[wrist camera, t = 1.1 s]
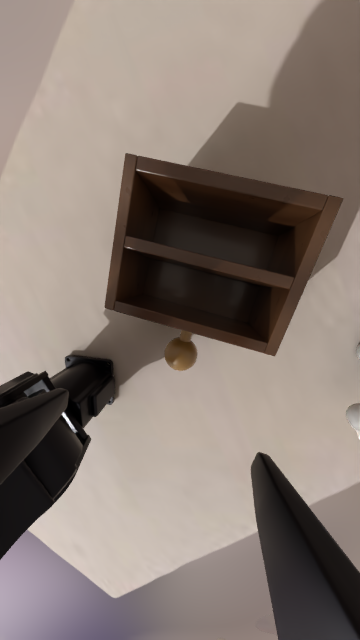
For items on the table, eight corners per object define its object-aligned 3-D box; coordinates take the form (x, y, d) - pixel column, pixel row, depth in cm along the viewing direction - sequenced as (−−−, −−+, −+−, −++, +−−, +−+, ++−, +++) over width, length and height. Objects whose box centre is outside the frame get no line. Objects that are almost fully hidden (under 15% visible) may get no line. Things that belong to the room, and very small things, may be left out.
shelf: (236, 365, 20) (252, 408, 13) (130, 334, 21) (96, 360, 14) (287, 231, 16) (344, 197, 10) (155, 201, 17) (125, 151, 10)
